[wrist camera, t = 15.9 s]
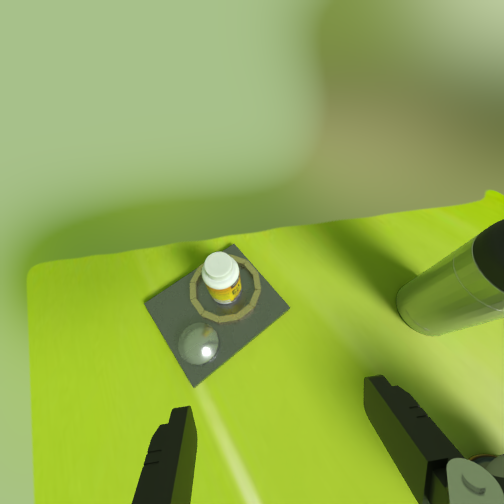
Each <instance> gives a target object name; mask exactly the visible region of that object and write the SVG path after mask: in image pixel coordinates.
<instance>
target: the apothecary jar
mask: <svg viewBox="0 0 504 504" xmlns="http://www.w3.org/2000/svg"><path fill="white" fill-rule="evenodd" d="M468 460H470V461H472V462H475V463H476V464H478V465H480V466H481V467H483V468H484V469H485V470H487V471H488V472H489V473H490V474H491V475H494V476H498V477H503V478H504V454H503V455H500V456H495V455H490V454H478V455H475V456H472V457H471V458H469V459H468Z"/></svg>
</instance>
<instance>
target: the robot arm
mask: <svg viewBox="0 0 504 504" xmlns="http://www.w3.org/2000/svg"><path fill="white" fill-rule="evenodd" d="M396 304H397V309H398V311H399V314H400V315H401V317H402V318H403V320H404V321H405V322H406V323H407V324H408V325H409V326H410V327H411V328H413V329H414V330H416V331H418V332H419V333H422V334H425V335H430V336H439V335H443V334H446V333H450V332H454V331H458V330H461V329H465V328H468V327H472V326H476V325H479V324H483V323H486V322H490V321H493V320H497V319H500V318H504V219H503V220H501V221H498V222H497V223H495V224H493V225H491V226H490V227H488V228H487V229H485V230H484V231H483V232H481V233H480V234H479V235H477V236H476V237H474V238H473V239H471V240H470V241H468V242H467V243H465V244H464V245H463V246H461V247H460V248H458V249H457V250H455V251H454V252H452V253H451V254H450V255H448V256H447V257H445V258H444V259H442V260H441V261H439V262H438V263H436V264H435V265H433V266H432V267H431V268H429V269H428V270H426V271H425V272H423V273H422V274H420V275H419V276H417V277H416V278H414V279H413V280H411V281H410V282H408V283H407V284H406V285H404V286H403V287H402V288H401V289H400V290H399V292H398V294H397V297H396ZM364 408H365V411H366V414H367V416H368V418H369V420H370V422H371V423H372V425H373V427H374V429H375V430H376V432H377V434H378V435H379V437H380V439H381V440H382V442H383V444H384V446H385V447H386V449H387V451H388V452H389V454H390V456H391V457H392V459H393V461H394V463H395V464H396V466H397V468H398V469H399V471H400V473H401V474H402V476H403V478H404V480H405V481H406V483H407V485H408V486H409V488H410V490H411V491H412V493H413V495H414V497H415V498H416V500H417V502H418V503H419V504H504V478H503V477H498V476H494V475H491V474H490V473H489V472H488V471H487V470H485V469H484V468H483V467H481V466H480V465H478V464H476V463H475V462H472V461H470V460H467V459H465V458H464V457H463V456H462V455H461V454H460V452H459V451H458V450H457V449H456V448H455V447H454V445H453V444H452V443H451V442H450V441H449V440H448V438H447V437H446V436H445V435H444V434H443V432H442V431H441V430H440V429H439V428H438V427H437V425H436V424H435V423H434V422H433V421H432V420H431V418H430V417H428V415H427V414H426V412H425V411H424V410H423V409H422V408H420V405H419V404H418V403H417V402H416V401H415V400H414V398H413V397H412V396H411V395H410V394H409V393H407V392H406V391H405V390H403V389H402V388H400V387H399V386H391V384H390V383H389V382H388V381H387V379H386V378H385V377H384V376H383V375H377V376H370V377H365V379H364ZM196 452H197V431H196V426H195V422H194V418H193V413H192V409H191V406H185V407H179V408H173V409H172V412H171V415H170V419H169V423H168V424H162V425H160V426H159V428H158V429H157V431H156V432H155V434H154V435H153V437H152V439H151V442H150V445H149V448H148V454H147V455H146V458H145V462H144V467H143V468H142V472H141V475H140V478H139V482H138V485H137V488H136V492H135V495H134V498H133V501H132V504H190V502H191V493H192V485H193V477H194V468H195V460H196Z"/></svg>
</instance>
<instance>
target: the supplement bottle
mask: <svg viewBox="0 0 504 504" xmlns="http://www.w3.org/2000/svg"><path fill="white" fill-rule="evenodd" d="M202 278H203V281H204V283H205V285H206V287H207V289H208V291H209V293H210V295H211V297H212V298H213V299H214V300H215V301H216V302H218V303H221V304H229V303H232V302H234V301H235V300H236V299H237V298H238V297H239V295H240V293H241V280H240V272H239V267H238V264H237V262H236V261H235V260H234V259H233V258H232V257H230V256H229V255H228V254H226V253H224V252H214V253H212V254H210V255H209V256H208V257H207V258H206V260H205V262H204V265H203V267H202Z"/></svg>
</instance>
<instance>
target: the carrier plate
mask: <svg viewBox="0 0 504 504" xmlns="http://www.w3.org/2000/svg"><path fill="white" fill-rule="evenodd" d="M222 252H224V253H226V254H228V255H229V256H230V257H232V258H233V259H234V260H235V261H236V262H237V264H238V267H239V272H240V280H241V293H240V295H239V297H238V298H237V299H236V300H235V301H234V302H232V303H229V304H221V303H218V302H216V301H215V300H214V299H213V298H212V297H211V295H210V293H209V291H208V289H207V287H206V285H205V283H204V281H203V278H202V267H203V265H204V263H203V264H201V265H200V266H199V267H198V268H197V269H195V270H194V271H192V272H191V273H189V274H188V275H186V276H185V277H183V278H182V279H180V280H179V281H177V282H176V283H174V284H173V285H171V286H170V287H168V288H167V289H165V290H164V291H162V292H161V293H159V294H158V295H156V296H155V297H153V298H152V299H150V300H149V301H147V302H146V303H144V304H145V306H146V308H147V309H148V311H149V313H150V314H151V316H152V318H153V320H154V321H155V323H156V325H157V326H158V328H159V330H160V332H161V333H162V335H163V337H164V338H165V340H166V342H167V343H168V345H169V347H170V349H171V350H172V352H173V354H174V355H175V357H176V359H177V360H178V362H179V364H180V366H181V367H182V369H183V371H184V372H185V374H186V376H187V378H188V379H189V381H190V383H191V384H192V386H193V388H195V387H196V386H198V385H199V384H200V383H201V382H202V381H204V380H205V379H206V378H207V377H208V376H210V375H211V374H212V373H213V372H215V371H216V370H217V369H218V368H219V367H221V366H222V365H223V364H224V363H225V362H227V361H228V360H229V359H230V358H231V357H233V356H234V355H235V354H236V353H237V352H239V351H240V350H241V349H242V348H243V347H245V346H246V345H247V344H248V343H250V342H251V341H252V340H253V339H254V338H256V337H257V336H258V335H259V334H260V333H262V332H263V331H264V330H265V329H266V328H268V327H269V326H270V325H271V324H272V323H274V322H275V321H276V320H277V319H279V318H280V317H281V316H282V315H283V314H285V313H286V312H287V311H288V310H289V309H290V307H289V306H288V305H287V303H286V302H285V301H284V300H283V299H282V298H281V297H280V296H279V294H278V293H277V292H276V291H275V290H274V289H273V288H272V286H271V285H270V284H269V283H268V282H267V281H266V280H265V278H264V277H263V276H262V275H261V274H260V273H259V272H258V270H257V269H256V268H255V267H254V266H253V265H252V264H251V262H250V261H249V260H248V259H247V258H246V257H245V256H244V255H243V253H242V252H241V251H240V250H239V249H238V248H237V247H236V245H235V244H233V245H231V246H230V247H228V248H227V249H225V250H224V251H222Z"/></svg>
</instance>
